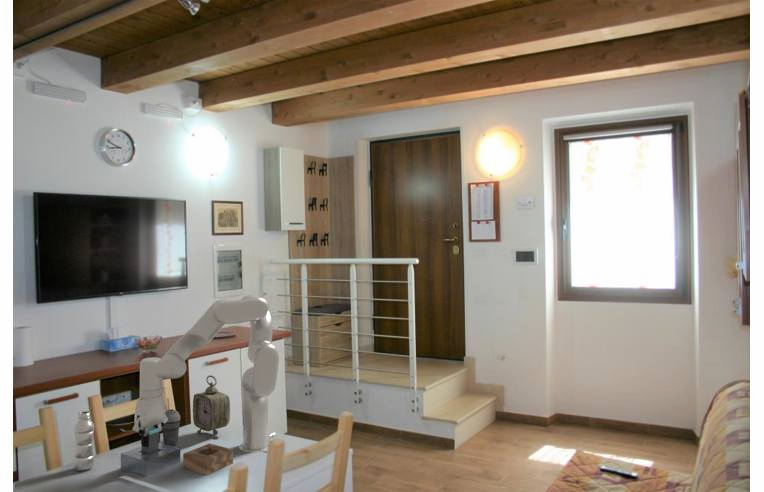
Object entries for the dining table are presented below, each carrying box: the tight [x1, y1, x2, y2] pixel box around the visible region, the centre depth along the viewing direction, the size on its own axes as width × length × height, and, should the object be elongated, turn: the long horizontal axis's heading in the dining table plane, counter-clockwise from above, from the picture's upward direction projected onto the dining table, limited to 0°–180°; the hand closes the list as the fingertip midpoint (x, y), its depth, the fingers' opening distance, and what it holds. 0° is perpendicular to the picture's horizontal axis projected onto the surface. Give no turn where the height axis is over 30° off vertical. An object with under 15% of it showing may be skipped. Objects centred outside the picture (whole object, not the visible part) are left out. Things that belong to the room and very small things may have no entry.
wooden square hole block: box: [182, 443, 234, 476], centre depth 200 cm, size 12×12×6 cm
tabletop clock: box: [192, 374, 231, 441], centre depth 234 cm, size 14×9×25 cm, turn 50°
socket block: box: [120, 442, 181, 477], centre depth 200 cm, size 14×14×6 cm
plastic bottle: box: [73, 411, 95, 472], centre depth 198 cm, size 6×7×20 cm
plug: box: [141, 426, 159, 455], centre depth 200 cm, size 4×4×11 cm
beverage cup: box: [161, 397, 182, 448], centre depth 217 cm, size 7×7×20 cm
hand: (150, 443), depth 200 cm, fingers closed on plug, 4 cm apart
